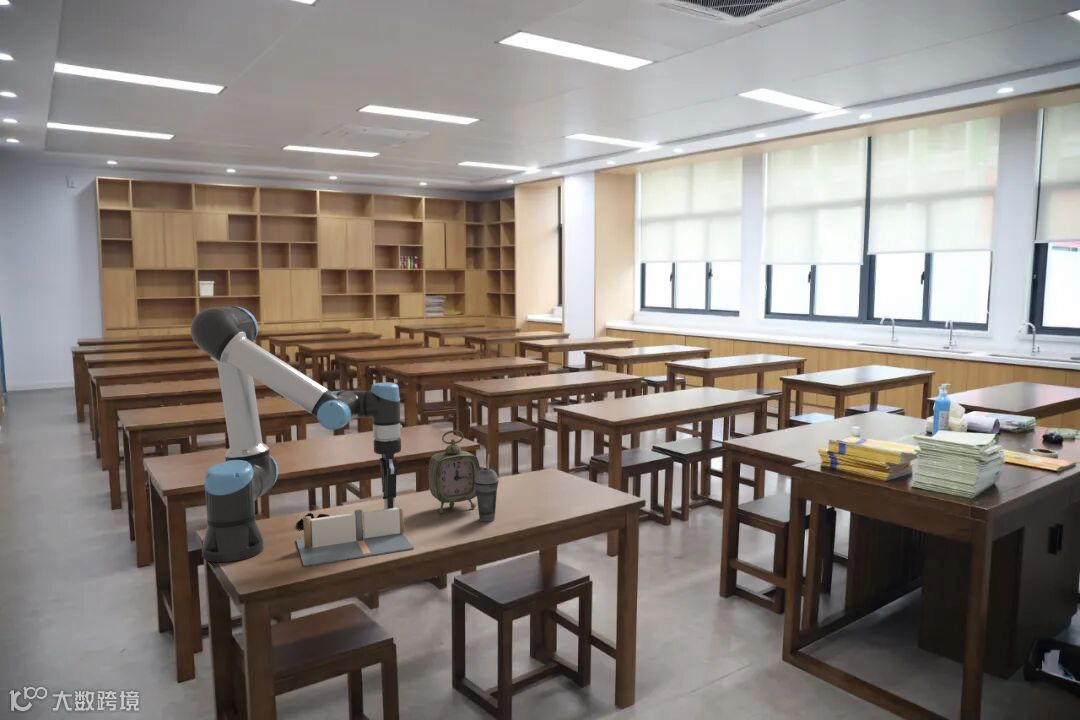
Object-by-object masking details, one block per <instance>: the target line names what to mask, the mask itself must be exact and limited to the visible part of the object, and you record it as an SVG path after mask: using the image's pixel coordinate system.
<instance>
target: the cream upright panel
mask: <svg viewBox="0 0 1080 720" xmlns="http://www.w3.org/2000/svg"><path fill="white" fill-rule="evenodd" d="M404 511H405V510H404V507H403V506H399V507H395V508H390V509H384V508H383V509H375V510H367V511H362V519H363V530H364V538H370V537H377V536H384V535H391V534H398V533H403V534H404V533H405V520H404V519H405V518H404V517H405V514H404Z"/></svg>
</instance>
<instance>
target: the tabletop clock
mask: <svg viewBox="0 0 1080 720" xmlns="http://www.w3.org/2000/svg"><path fill="white" fill-rule="evenodd" d="M453 433H454V434H455V433H457V434H460V435H461V438H460V439H458V440H455V439H451V440H450V441H446V440H445V439H444V438H445V436H446V435H448V434H453ZM463 440H464V434H463V432H462V431H459V430H448V431H446V432H445V433H444V434H443V435H442V436H441V441H442V442H443V443H444V444H445V445H446V444H447V445H448V446H446V447H445V450H444V451H443V452H439V453H436V454H433V455H432V456H431V457H430V459H429V462H428V473H427V475H428V476H427V477H428V487H429V490H430V493H431V495H432V497H434V499H436V500H437V501H439V502H440V503H441V504H440V507H439V508H438V509H437V512H438V513H439V514H443V513H444V509H443V507H444V504H449V507H450V508H454V507H455V503H459V502H460V503H461V502H464V501H468V502H469V503H470V508H471V509H475V508H476V506H477V505H476V503H474V502H473V501H472V499H474V498H476V497H477V492H476V488H475V483H474V482H475V477H476V474H477V473H478V472H479V471H480V470H481V467H480V462H479V460H478V457H477V456H476V455H474V454H473V453H470V452H468V451H466V450H462V449H461V447H460V446H459V445H458V444H459V443H460V442H462V441H463Z"/></svg>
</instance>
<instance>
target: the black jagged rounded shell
mask: <svg viewBox="0 0 1080 720" xmlns="http://www.w3.org/2000/svg"><path fill="white" fill-rule="evenodd" d="M306 516H310V517H311V519H314V518H322V517H329V516H330V515H329V514H325V513H319V514H318V515H317V516H316V517H315V516H314V513H311V512H309V513H307V514H305V515H304V517H306ZM296 529H297V531H298V530H299V529H300V530H299V532H300V531H304V525H303V518H300V520H298V521H297V523H296Z"/></svg>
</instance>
